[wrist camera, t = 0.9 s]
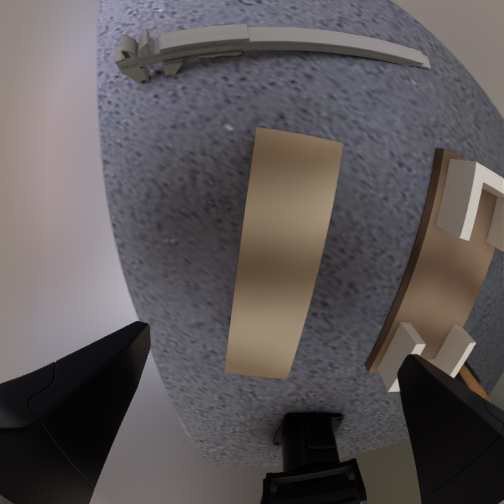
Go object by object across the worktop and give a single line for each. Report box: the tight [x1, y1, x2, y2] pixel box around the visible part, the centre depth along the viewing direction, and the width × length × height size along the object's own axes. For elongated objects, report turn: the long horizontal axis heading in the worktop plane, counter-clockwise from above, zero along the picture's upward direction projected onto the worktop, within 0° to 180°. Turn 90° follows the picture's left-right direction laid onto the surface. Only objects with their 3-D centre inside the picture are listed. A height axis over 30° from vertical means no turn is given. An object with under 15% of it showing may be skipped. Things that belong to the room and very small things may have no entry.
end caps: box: [377, 159, 504, 392], centre depth 16 cm, size 18×8×3 cm, turn 171°
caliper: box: [115, 24, 430, 83], centre depth 11 cm, size 20×1×6 cm, turn 97°
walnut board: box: [365, 148, 497, 372], centre depth 18 cm, size 19×9×1 cm, turn 171°
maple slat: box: [225, 127, 344, 379], centre depth 16 cm, size 14×4×5 cm, turn 172°
